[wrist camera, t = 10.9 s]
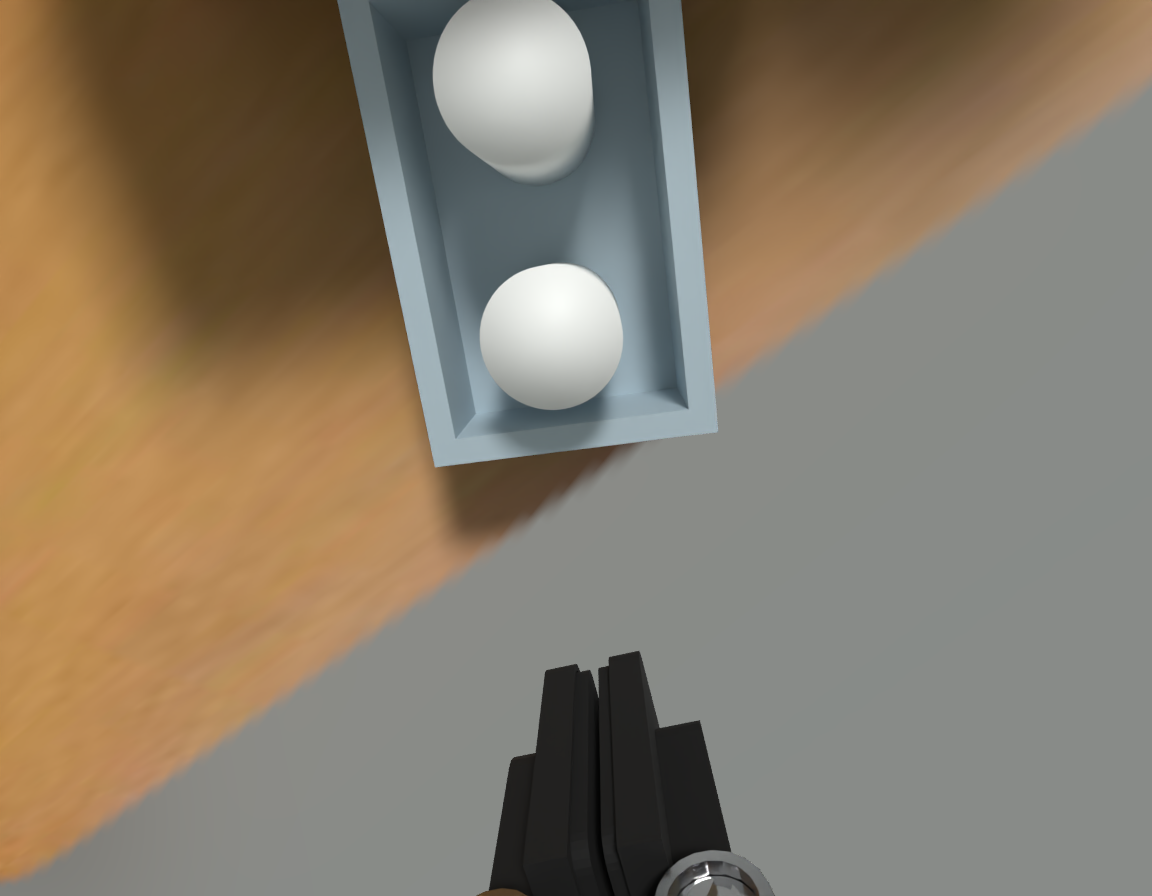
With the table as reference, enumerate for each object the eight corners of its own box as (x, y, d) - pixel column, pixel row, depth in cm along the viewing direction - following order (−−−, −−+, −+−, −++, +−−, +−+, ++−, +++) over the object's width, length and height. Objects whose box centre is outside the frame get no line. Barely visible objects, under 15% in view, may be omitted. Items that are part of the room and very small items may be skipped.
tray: (658, -20, 16) (681, -140, 11) (697, 398, 18) (730, 451, 14) (388, 29, 16) (295, -65, 11) (465, 429, 19) (417, 489, 14)
